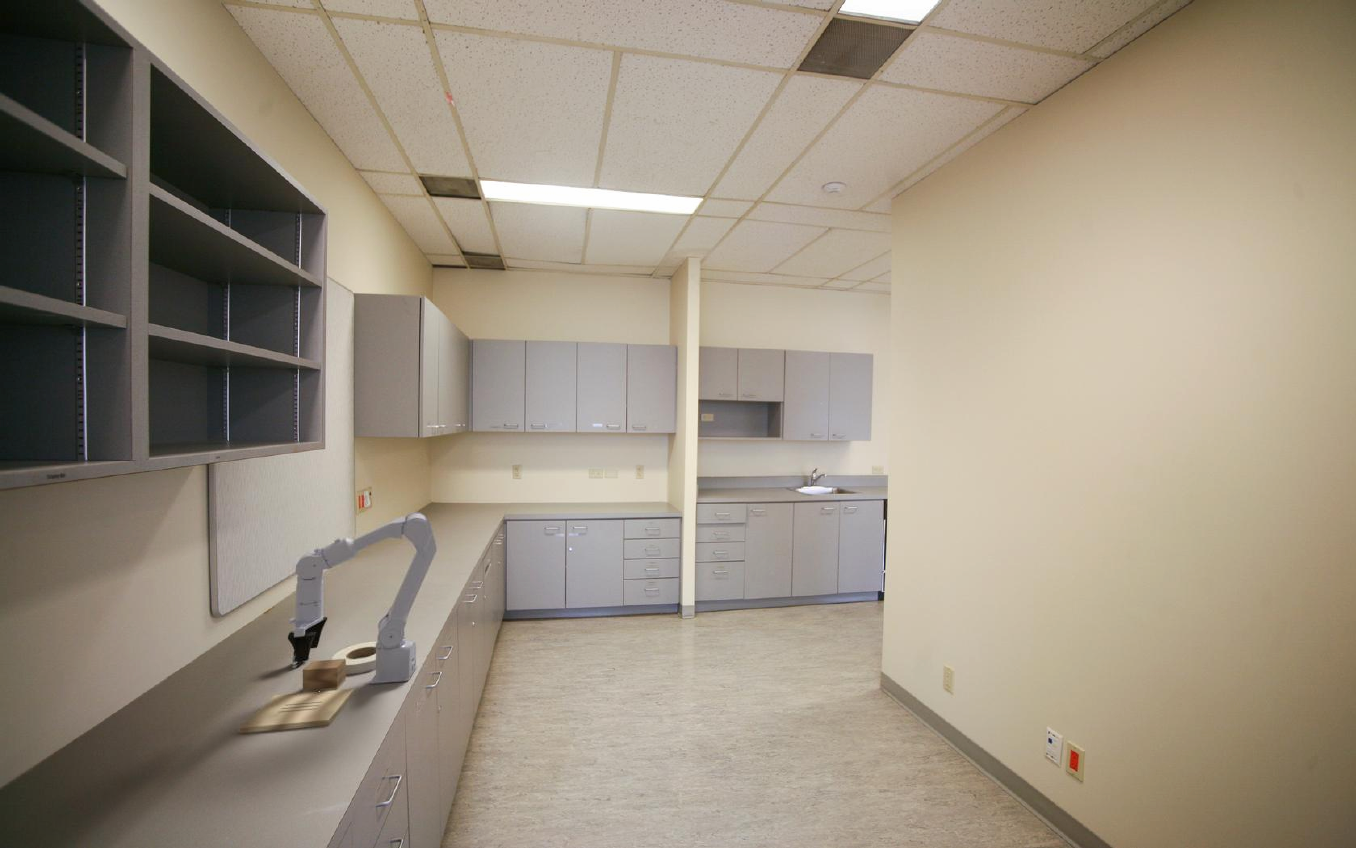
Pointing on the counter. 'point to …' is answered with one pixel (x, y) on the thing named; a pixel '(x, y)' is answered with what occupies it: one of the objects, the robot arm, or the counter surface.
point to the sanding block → (324, 675)
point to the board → (298, 710)
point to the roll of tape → (357, 651)
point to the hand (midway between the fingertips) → (307, 654)
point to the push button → (296, 659)
